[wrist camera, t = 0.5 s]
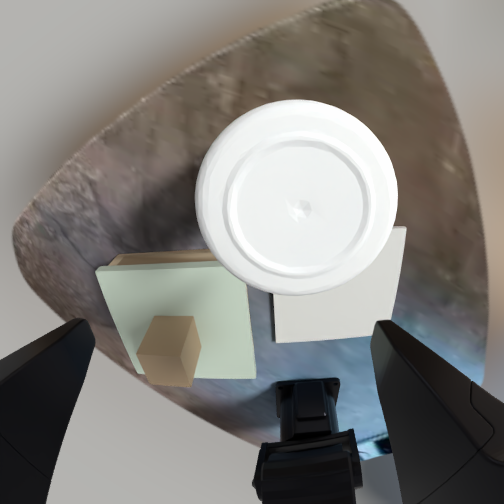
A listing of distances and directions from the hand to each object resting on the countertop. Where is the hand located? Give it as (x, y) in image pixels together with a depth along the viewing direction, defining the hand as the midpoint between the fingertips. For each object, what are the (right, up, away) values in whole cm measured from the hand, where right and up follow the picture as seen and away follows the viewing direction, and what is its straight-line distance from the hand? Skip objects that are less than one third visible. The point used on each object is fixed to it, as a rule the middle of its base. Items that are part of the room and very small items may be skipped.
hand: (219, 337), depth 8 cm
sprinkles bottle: (+3, +9, +10) cm, 14 cm away
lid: (-4, -3, +13) cm, 14 cm away
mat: (+8, 0, +14) cm, 16 cm away
